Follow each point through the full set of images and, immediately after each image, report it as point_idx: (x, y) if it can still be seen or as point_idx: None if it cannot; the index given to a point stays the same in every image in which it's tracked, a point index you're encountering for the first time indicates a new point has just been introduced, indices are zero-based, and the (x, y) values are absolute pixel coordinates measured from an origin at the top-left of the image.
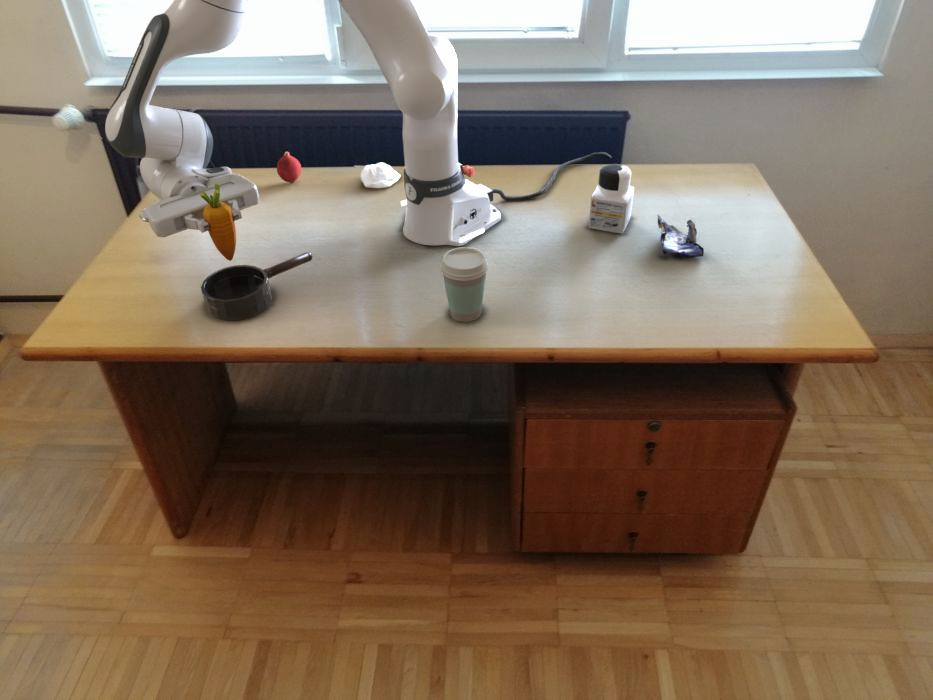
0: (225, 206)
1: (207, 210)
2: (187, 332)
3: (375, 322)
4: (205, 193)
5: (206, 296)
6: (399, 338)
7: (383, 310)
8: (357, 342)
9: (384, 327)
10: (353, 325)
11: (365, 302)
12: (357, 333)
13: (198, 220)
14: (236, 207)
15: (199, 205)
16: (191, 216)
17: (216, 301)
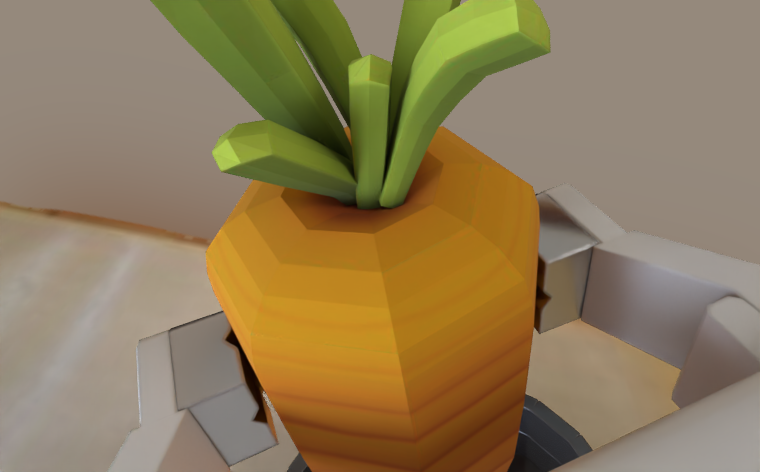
0: (255, 183)
1: (470, 145)
2: (654, 408)
3: (64, 309)
4: (446, 24)
5: (582, 438)
6: (62, 247)
7: (6, 353)
8: (152, 252)
9: (60, 287)
10: (120, 311)
11: (16, 407)
12: (132, 280)
13: (598, 231)
14: (136, 441)
15: (667, 450)
16: (721, 302)
17: (526, 397)
